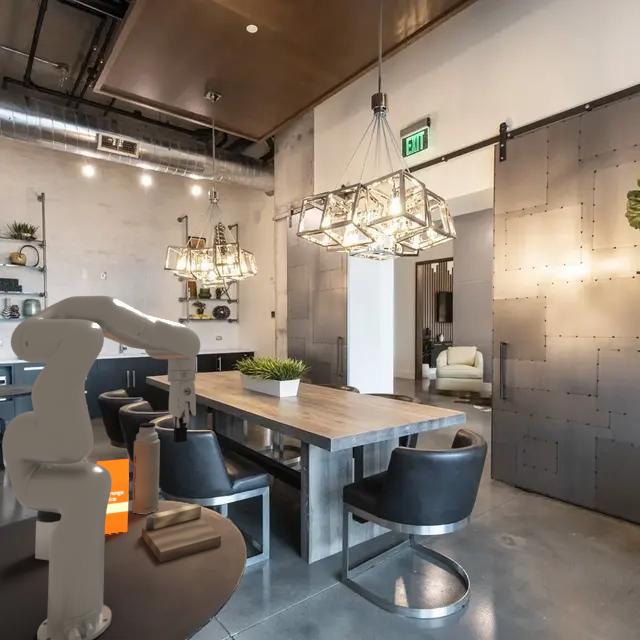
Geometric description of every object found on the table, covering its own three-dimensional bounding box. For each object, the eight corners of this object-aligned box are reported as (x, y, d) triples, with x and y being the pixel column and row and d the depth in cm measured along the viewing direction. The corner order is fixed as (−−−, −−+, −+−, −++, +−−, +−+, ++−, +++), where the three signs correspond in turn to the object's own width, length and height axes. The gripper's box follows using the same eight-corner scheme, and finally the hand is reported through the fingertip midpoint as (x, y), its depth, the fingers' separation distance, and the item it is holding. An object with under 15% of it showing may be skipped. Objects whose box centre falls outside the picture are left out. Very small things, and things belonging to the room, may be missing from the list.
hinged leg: (148, 530, 123) (148, 519, 123) (144, 527, 126) (144, 516, 126) (200, 516, 133) (201, 506, 133) (196, 513, 135) (196, 503, 136)
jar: (42, 547, 119) (43, 501, 120) (75, 543, 122) (77, 498, 122) (31, 563, 111) (32, 514, 111) (67, 558, 113) (69, 510, 114)
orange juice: (95, 526, 133) (97, 458, 133) (127, 521, 136) (129, 455, 137) (93, 537, 125) (95, 465, 126) (127, 532, 129) (129, 462, 130)
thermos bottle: (130, 516, 140) (133, 426, 141) (133, 506, 148) (135, 421, 149) (157, 513, 142) (159, 425, 143) (159, 504, 150) (160, 420, 151)
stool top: (220, 545, 121) (220, 535, 121) (160, 562, 112) (161, 552, 112) (196, 522, 136) (196, 514, 136) (141, 536, 126) (142, 527, 126)
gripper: (204, 377, 122) (202, 445, 121) (185, 373, 134) (184, 435, 134) (177, 378, 118) (175, 448, 117) (160, 374, 130) (158, 438, 129)
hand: (180, 441), depth 125 cm, fingers closed
